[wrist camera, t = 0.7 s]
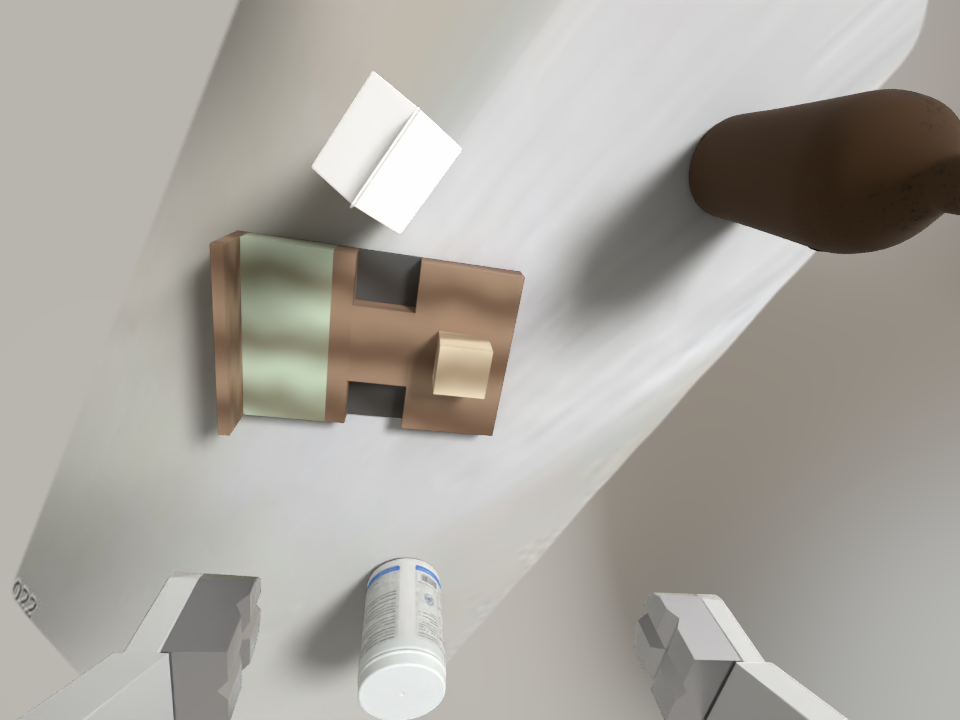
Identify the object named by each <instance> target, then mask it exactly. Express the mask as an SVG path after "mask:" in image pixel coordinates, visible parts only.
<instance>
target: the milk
mask: <svg viewBox="0 0 960 720" xmlns="http://www.w3.org/2000/svg"><path fill="white" fill-rule="evenodd" d="M461 151H462V148H461V147H460V146H459V145H458V144H457V143H456V142H455V141H453V140H452V139H451V138H450V137H449V136H448V135H447V134H446V133H445V132H444V131H443V130H442V129H440V128H439V127H438V126H437V125H436V124H435V123H434V122H433V121H432V120H431V119H430V118H429V117H427V116H426V115H425V114H424V113H423V112H422V111H421V110H420V108H419V107H416V106H415V105H414V104H413V103H412V102H410V101H409V100H408V99H407V98H405V97H404V96H403V95H402V94H401V93H399V92H398V91H397V90H396V89H395V88H393V87H392V86H391V85H390V84H389V83H387V82H386V81H385V80H384V79H382V78H381V77H380V76H379V75H378V74H376V73H375V72H372V73H371V74H370V75H369V77H368V79H367V80H366V82H365V83H364V85H363V86H362V88H361V89H360V91H359V93H358V94H357V96H356V97H355V99H354V100H353V102H352V103H351V105H350V107H349V108H348V110H347V111H346V113H345V114H344V116H343V117H342V119H341V121H340V122H339V124H338V125H337V127H336V128H335V130H334V131H333V133H332V135H331V136H330V138H329V139H328V141H327V142H326V144H325V145H324V147H323V149H322V150H321V152H320V153H319V155H318V156H317V158H316V159H315V161H314V163H313V164H312V166H311V167H312V169H313V170H314V171H315V172H317V173H318V174H319V175H320V176H321V177H322V178H323V179H324V180H325V181H326V182H328V183H329V184H330V185H331V186H332V187H333V188H334V189H335V190H336V191H337V192H339V193H340V194H341V195H342V196H343V197H344V198H345V199H346V200H347V201H348V202H350V203H351V205H350V208H352V207H356V208H358V209H359V210H361V211H362V212H364V213H366V214H367V215H369V216H370V217H372V218H374V219H375V220H377V221H378V222H380V223H382V224H383V225H385V226H386V227H388V228H390V229H391V230H393V231H394V232H396V233H398V234H401V233H402V232H403V231H404V229H405V228H406V227H407V225H408V224H409V223H410V221H411V220H412V218H413V217H414V216H415V214H416V213H417V212H418V210H419V209H420V207H421V206H422V205H423V203H424V202H425V201H426V199H427V198H428V196H429V195H430V194H431V192H432V191H433V190H434V188H435V187H436V185H437V184H438V183H439V181H440V180H441V179H442V177H443V176H444V174H445V173H446V172H447V170H448V169H449V168H450V166H451V165H452V163H453V162H454V161H455V159H456V158H457V157H458V155H459V154H460V152H461Z"/></svg>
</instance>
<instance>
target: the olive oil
mask: <svg viewBox="0 0 960 720" xmlns="http://www.w3.org/2000/svg"><path fill="white" fill-rule="evenodd" d="M689 183H690V189H691V192H692V195H693V197H694V199H695V201H696V203H697V204H698V205H699V206H700V207H701V208H702V209H703V210H704V211H706V212H707V213H709V214H711V215H713V216H716V217H719V218H723V219H726V220H729V221H733V222H736V223H740V224H742V225H745V226H749V227H752V228H755V229H758V230H761V231H764V232H767V233H770V234H773V235H776V236H779V237H782V238H785V239H788V240H790V241H793V242H796V243H799V244H802V245H805V246H808V247H809V248H810V249H813V250H816V251H822V252H823V251H824V252H830V253H837V254H854V253H855V254H856V253H866V252H873V251H877V250H882V249H886V248H889V247H892V246H895V245H897V244H900V243H902V242H904V241H906V240H908V239H910V238H911V237H913V236H915V235H916V234H918V233H919V232H921V231H922V230H924V229H925V228H926V227H928V226H929V225H930V224H931V223H933V222H934V221H935V220H936V219H938V218H939V217H940V216H941V215H943V214H944V213H950V214H956V215H960V120H959V119H958V117H957V116H956V115H955V113H954V112H953V111H952V110H951V109H950V108H949V107H947V106H946V105H945V104H943V103H942V102H940V101H938V100H936V99H934V98H932V97H929V96H926V95H923V94H919V93H916V92H912V91H906V90H898V89H883V90H874V91H868V92H863V93H858V94H853V95H848V96H843V97H838V98H833V99H828V100H822V101H817V102H812V103H806V104H801V105H795V106H790V107H784V108H779V109H773V110H767V111H760V112H753V113H747V114H741V115H736V116H733V117H730V118H728V119H725V120H723V121H722V122H720V123H718V124H717V125H716V126H714V127H713V128H712V129H711V130H710V131H709V132H708V133H707V134H706V135H705V136H704V138H703V139H702V140H701V142H700V143H699V145H698V147H697V148H696V150H695V153H694V155H693V158H692V161H691V165H690V171H689Z"/></svg>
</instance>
